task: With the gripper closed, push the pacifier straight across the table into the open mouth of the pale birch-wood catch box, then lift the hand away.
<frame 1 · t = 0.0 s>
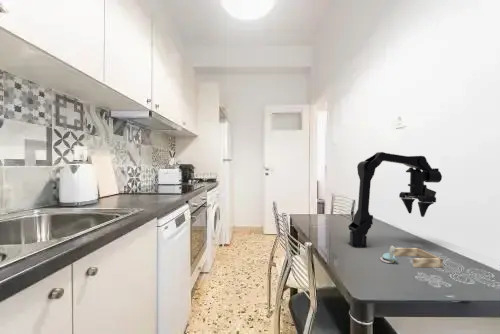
hand: (416, 214, 133), 15 cm above the table, fingers open, 9 cm apart
pacifier: (388, 261, 111), on the table
catch box: (416, 260, 112), on the table
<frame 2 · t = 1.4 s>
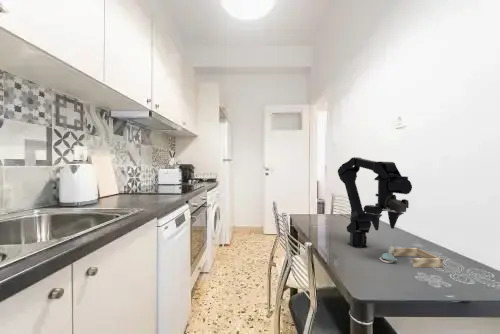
hand: (384, 229, 116), 11 cm above the table, fingers open, 9 cm apart
nothing on the table moved.
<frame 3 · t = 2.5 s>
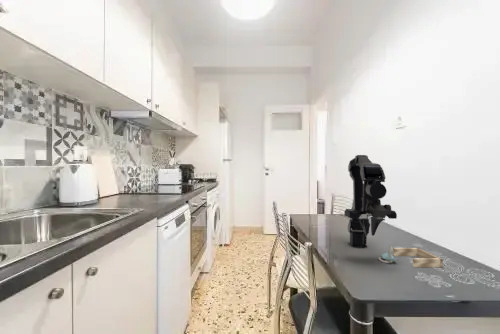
hand: (369, 235, 110), 10 cm above the table, fingers closed
nothing on the table moved.
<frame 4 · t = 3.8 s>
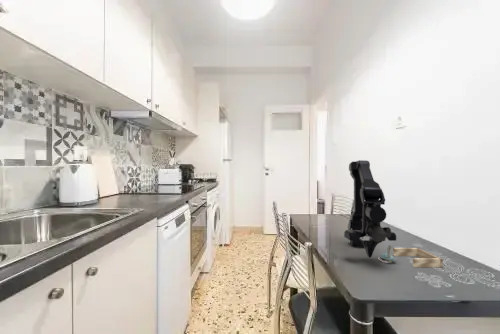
hand: (369, 256, 111), 2 cm above the table, fingers closed
nothing on the table moved.
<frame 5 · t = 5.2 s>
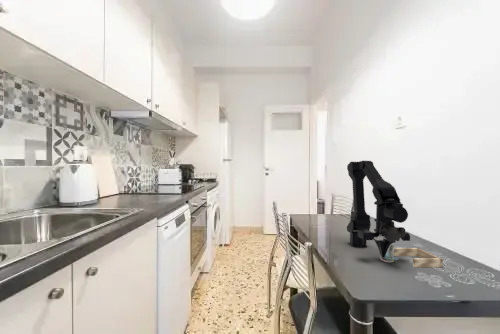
hand: (382, 256, 111), 2 cm above the table, fingers closed
pacifier: (388, 261, 111), on the table, touching gripper
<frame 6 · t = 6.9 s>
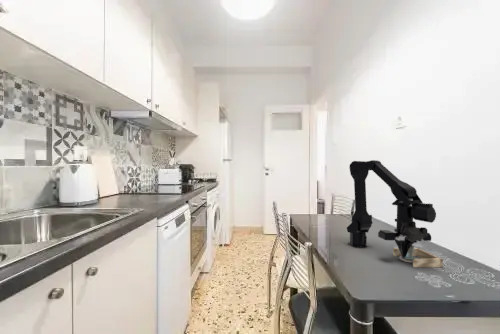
hand: (403, 256, 111), 2 cm above the table, fingers closed
pacifier: (408, 261, 112), on the table, touching gripper
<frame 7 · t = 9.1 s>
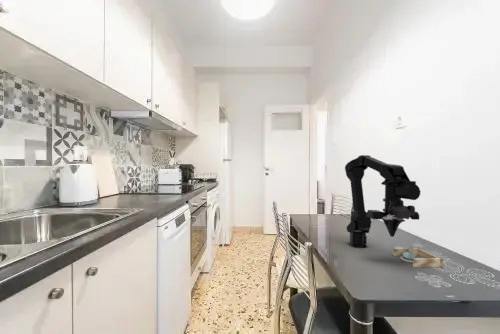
hand: (392, 236, 111), 10 cm above the table, fingers closed
pacifier: (409, 261, 112), on the table
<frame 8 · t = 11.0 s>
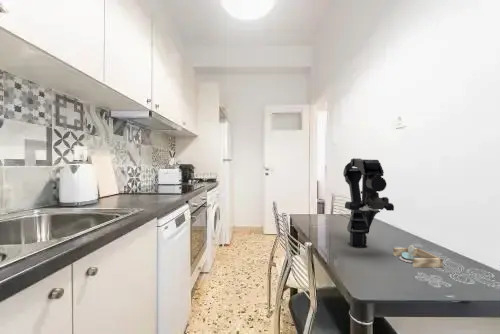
hand: (368, 226, 118), 12 cm above the table, fingers closed
nothing on the table moved.
at the end: pacifier inside the target area (3.8 cm from its centre), on the table; the gripper is holding nothing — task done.
